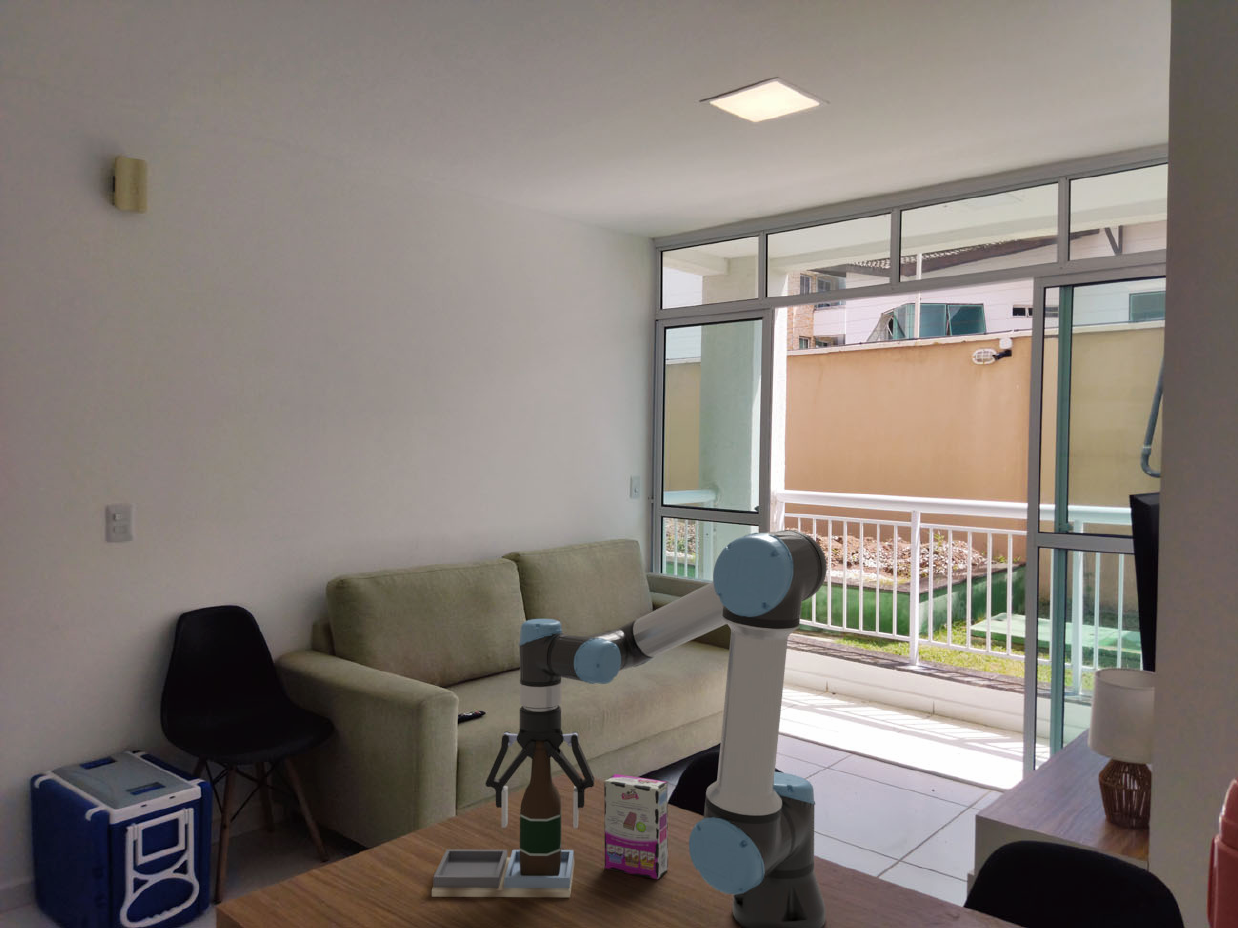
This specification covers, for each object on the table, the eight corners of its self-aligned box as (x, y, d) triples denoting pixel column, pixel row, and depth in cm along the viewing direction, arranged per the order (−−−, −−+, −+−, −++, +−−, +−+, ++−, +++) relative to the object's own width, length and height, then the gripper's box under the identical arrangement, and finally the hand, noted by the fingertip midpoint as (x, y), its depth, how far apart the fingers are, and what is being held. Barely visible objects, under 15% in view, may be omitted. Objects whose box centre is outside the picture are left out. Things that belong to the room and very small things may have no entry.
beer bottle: (567, 877, 158) (568, 742, 158) (525, 884, 155) (526, 747, 155) (554, 859, 165) (555, 730, 165) (514, 866, 162) (514, 735, 162)
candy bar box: (669, 869, 164) (669, 780, 164) (658, 880, 160) (658, 789, 160) (615, 857, 169) (615, 771, 169) (603, 868, 164) (603, 780, 165)
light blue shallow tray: (573, 859, 166) (573, 849, 166) (569, 887, 154) (569, 877, 154) (512, 859, 166) (512, 849, 166) (504, 887, 154) (504, 877, 154)
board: (574, 863, 166) (574, 857, 166) (569, 897, 153) (569, 890, 153) (446, 863, 166) (446, 856, 166) (431, 896, 153) (431, 889, 153)
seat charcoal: (507, 859, 166) (507, 849, 166) (498, 887, 154) (498, 877, 154) (446, 858, 166) (446, 849, 166) (433, 887, 154) (433, 876, 154)
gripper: (608, 700, 164) (607, 817, 164) (476, 700, 164) (476, 816, 164) (607, 711, 156) (607, 833, 156) (469, 711, 157) (469, 832, 156)
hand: (540, 825), depth 160 cm, fingers open, 12 cm apart
